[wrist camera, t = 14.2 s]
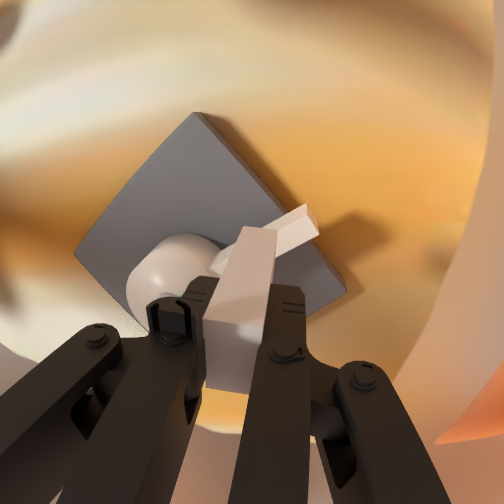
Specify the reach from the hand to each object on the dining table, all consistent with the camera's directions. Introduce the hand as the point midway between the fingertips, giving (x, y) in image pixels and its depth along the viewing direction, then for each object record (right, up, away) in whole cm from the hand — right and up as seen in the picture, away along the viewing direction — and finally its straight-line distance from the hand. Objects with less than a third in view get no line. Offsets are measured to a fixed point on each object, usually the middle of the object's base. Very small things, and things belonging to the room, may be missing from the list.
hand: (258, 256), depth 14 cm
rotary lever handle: (-2, 0, +12) cm, 13 cm away
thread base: (-6, -1, +16) cm, 17 cm away
